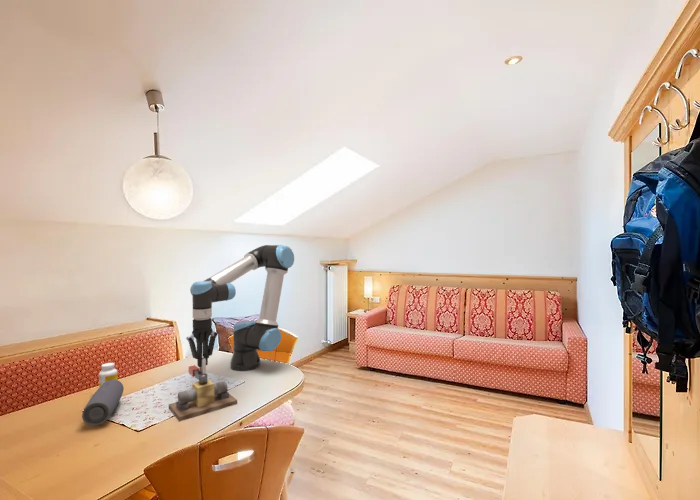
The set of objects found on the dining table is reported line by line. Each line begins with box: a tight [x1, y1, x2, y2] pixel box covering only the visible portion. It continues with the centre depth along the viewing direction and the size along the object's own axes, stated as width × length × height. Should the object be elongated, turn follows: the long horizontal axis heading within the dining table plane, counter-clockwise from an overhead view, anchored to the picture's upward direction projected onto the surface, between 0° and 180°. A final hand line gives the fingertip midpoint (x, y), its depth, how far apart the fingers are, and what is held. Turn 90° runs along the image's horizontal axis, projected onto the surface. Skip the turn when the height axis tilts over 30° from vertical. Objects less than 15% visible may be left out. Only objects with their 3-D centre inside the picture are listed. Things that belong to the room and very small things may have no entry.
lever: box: [188, 364, 208, 384], centre depth 152 cm, size 16×3×3 cm, turn 41°
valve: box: [168, 378, 238, 422], centre depth 147 cm, size 22×14×9 cm, turn 131°
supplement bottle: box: [98, 362, 119, 388], centre depth 158 cm, size 7×7×13 cm
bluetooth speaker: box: [81, 380, 124, 427], centre depth 140 cm, size 23×9×10 cm, turn 21°
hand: (202, 373), depth 156 cm, fingers closed
